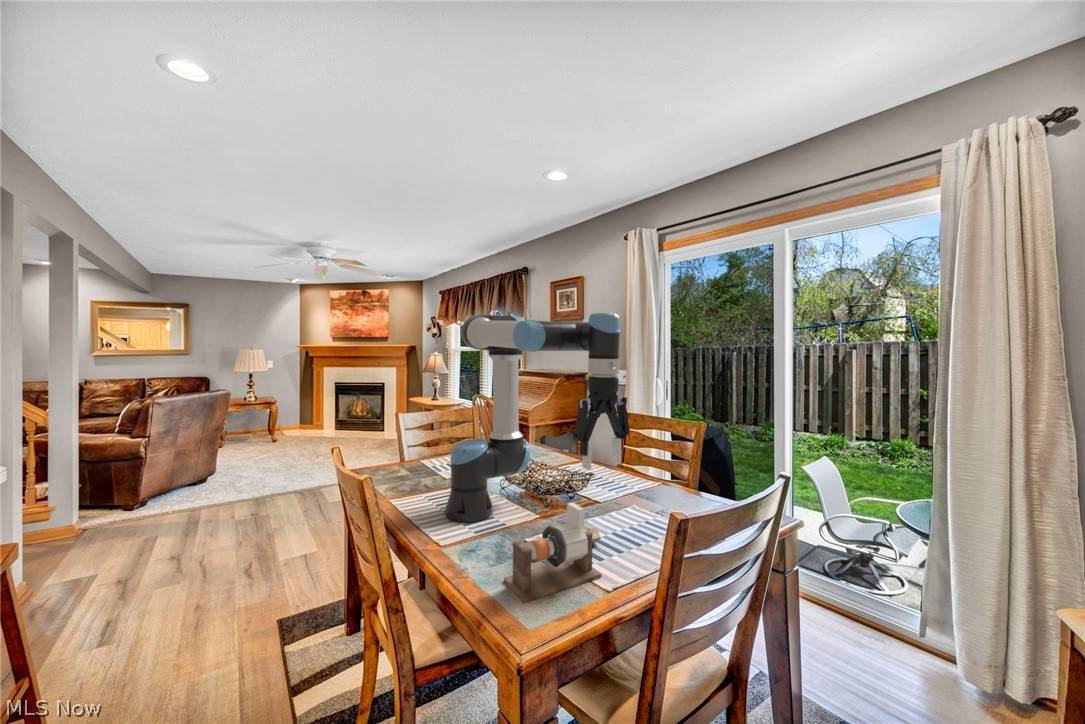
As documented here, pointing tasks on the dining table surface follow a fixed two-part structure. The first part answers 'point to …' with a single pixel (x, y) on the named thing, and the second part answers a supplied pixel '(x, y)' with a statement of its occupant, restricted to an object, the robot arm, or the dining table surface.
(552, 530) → the ring
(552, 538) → the pipe
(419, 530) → the dining table surface
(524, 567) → the stand
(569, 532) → the sleeve
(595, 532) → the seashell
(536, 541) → the band
